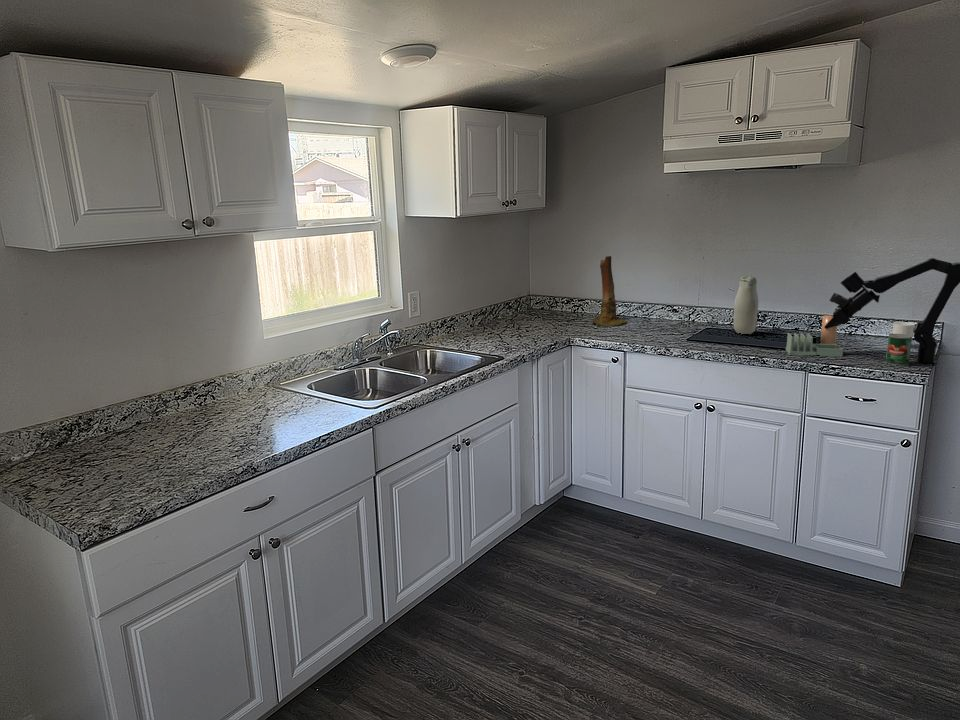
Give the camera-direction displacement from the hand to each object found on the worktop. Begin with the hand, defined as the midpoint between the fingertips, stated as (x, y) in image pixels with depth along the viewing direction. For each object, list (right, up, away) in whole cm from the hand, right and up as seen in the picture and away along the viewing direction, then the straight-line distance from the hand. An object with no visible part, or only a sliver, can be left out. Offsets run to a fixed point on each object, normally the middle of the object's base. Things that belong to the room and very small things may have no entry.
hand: (825, 326), depth 283 cm
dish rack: (-4, -11, +3) cm, 12 cm away
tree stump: (-74, +5, +80) cm, 109 cm away
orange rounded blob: (+1, -7, +1) cm, 7 cm away
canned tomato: (+19, -15, -17) cm, 30 cm away
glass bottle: (-17, -2, +44) cm, 47 cm away
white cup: (+38, -8, +11) cm, 40 cm away
